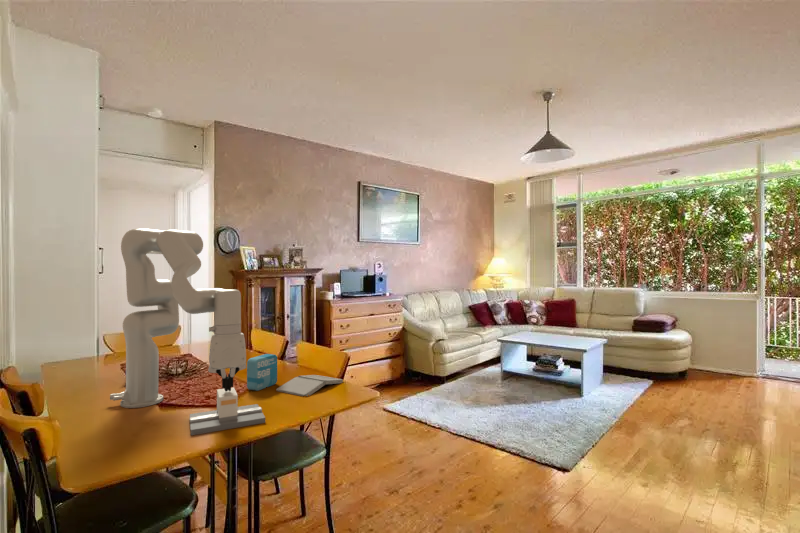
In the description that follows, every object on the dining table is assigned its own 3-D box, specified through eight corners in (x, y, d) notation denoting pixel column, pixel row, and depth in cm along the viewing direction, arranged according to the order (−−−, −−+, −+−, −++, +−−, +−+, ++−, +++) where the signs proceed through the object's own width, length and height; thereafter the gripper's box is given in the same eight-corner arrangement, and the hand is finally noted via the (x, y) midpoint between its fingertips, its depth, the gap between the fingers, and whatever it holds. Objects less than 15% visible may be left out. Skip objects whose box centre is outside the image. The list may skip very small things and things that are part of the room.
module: (219, 422, 118) (219, 397, 118) (216, 412, 127) (216, 389, 127) (237, 419, 121) (237, 395, 121) (233, 409, 129) (234, 387, 129)
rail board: (190, 435, 113) (190, 427, 113) (189, 418, 125) (189, 411, 125) (265, 422, 122) (265, 414, 122) (257, 408, 135) (257, 401, 135)
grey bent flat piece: (305, 398, 147) (305, 388, 147) (275, 392, 154) (275, 383, 154) (343, 383, 167) (343, 374, 167) (315, 378, 174) (315, 370, 174)
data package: (255, 391, 153) (255, 360, 153) (246, 390, 155) (246, 358, 155) (277, 383, 164) (277, 354, 164) (268, 382, 166) (268, 353, 166)
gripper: (201, 333, 117) (201, 397, 117) (255, 329, 124) (255, 389, 124) (199, 330, 124) (199, 390, 123) (251, 326, 131) (251, 383, 131)
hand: (227, 389), depth 124 cm, fingers closed
